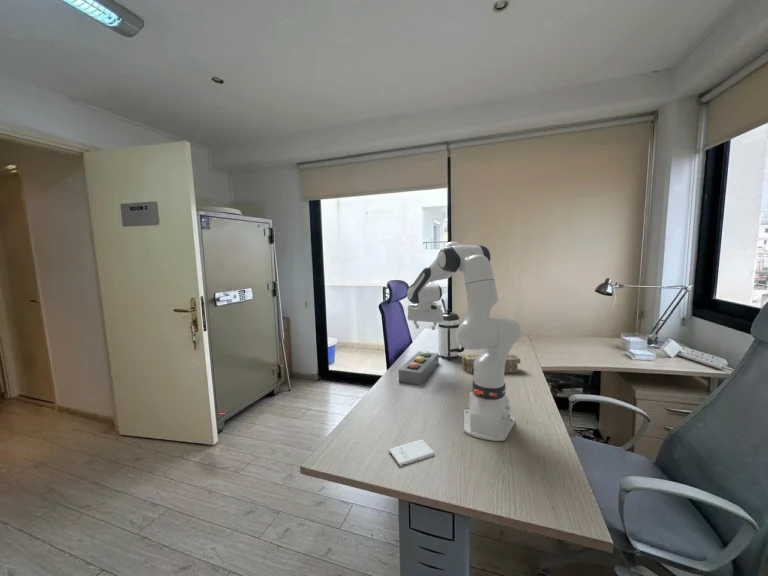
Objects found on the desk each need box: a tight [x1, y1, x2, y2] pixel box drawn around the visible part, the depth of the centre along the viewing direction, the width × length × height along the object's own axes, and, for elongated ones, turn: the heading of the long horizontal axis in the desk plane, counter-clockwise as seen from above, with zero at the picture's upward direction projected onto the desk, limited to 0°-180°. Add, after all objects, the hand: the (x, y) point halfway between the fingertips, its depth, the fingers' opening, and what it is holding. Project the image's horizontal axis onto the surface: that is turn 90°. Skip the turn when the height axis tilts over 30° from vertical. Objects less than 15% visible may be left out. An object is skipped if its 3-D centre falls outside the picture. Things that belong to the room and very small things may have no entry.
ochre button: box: [415, 356, 424, 363], centre depth 169 cm, size 5×5×2 cm
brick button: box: [409, 362, 419, 370], centre depth 160 cm, size 5×5×2 cm
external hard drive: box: [388, 439, 436, 466], centre depth 100 cm, size 2×8×12 cm
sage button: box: [420, 350, 431, 357], centre depth 178 cm, size 5×5×2 cm
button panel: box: [398, 350, 440, 385], centre depth 169 cm, size 32×12×6 cm, turn 155°
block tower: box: [461, 354, 521, 373], centre depth 168 cm, size 8×8×29 cm
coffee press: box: [437, 308, 465, 361], centre depth 191 cm, size 17×16×30 cm
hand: (425, 329), depth 176 cm, fingers open, 8 cm apart
